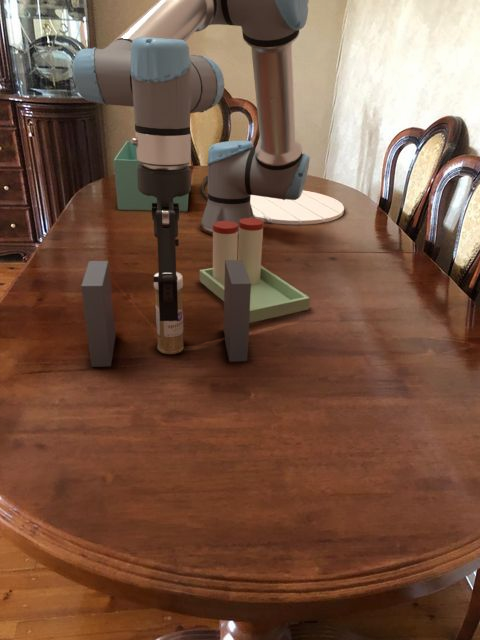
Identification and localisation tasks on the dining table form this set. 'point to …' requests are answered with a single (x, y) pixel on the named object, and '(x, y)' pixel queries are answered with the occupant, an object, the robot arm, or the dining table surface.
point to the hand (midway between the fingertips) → (168, 301)
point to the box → (135, 183)
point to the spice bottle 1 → (223, 247)
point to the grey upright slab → (236, 310)
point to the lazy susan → (297, 209)
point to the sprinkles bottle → (170, 323)
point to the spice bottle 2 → (251, 247)
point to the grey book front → (99, 313)
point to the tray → (264, 295)
